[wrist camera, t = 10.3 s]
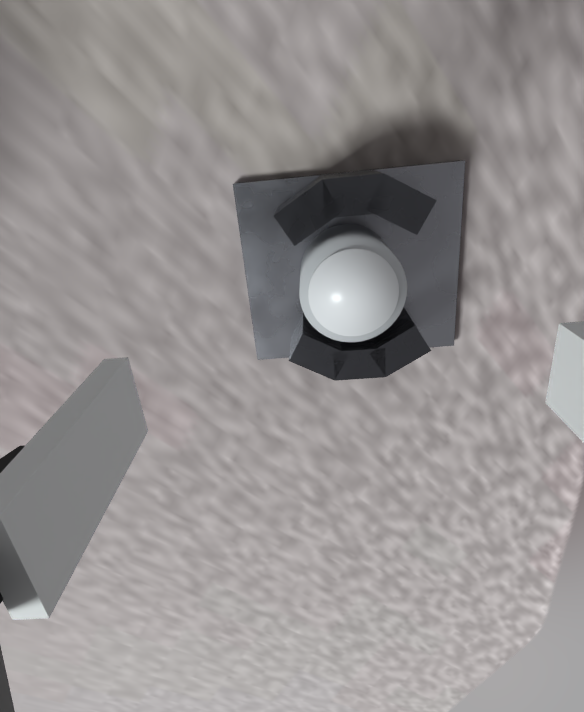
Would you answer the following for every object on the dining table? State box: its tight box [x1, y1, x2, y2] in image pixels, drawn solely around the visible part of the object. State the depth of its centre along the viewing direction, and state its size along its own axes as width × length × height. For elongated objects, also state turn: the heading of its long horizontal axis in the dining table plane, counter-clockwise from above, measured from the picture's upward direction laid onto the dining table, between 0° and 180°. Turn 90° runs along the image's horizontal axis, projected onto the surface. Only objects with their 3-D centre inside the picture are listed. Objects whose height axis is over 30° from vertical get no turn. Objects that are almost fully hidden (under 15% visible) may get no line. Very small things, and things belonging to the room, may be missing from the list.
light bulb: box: [299, 224, 407, 342], centre depth 27 cm, size 6×6×5 cm
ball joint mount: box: [233, 161, 465, 380], centre depth 28 cm, size 14×12×5 cm
